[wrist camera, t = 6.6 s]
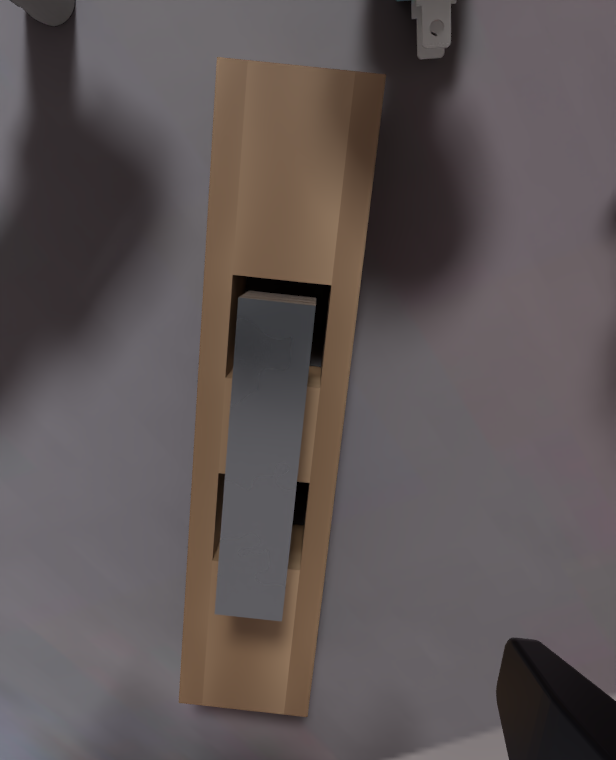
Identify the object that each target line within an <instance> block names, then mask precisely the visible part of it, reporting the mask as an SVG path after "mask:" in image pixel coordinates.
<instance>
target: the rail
mask: <svg viewBox="0 0 616 760" xmlns="http://www.w3.org/2000/svg"><path fill="white" fill-rule="evenodd" d="M385 80H386V74H377V73H367V72H357V71H347V70H338V69H328V68H318V67H309V66H299V65H289V64H280V63H270V62H260V61H251V60H241V59H231V58H222V57H217V67H216V83H215V100H214V117H213V134H212V151H211V168H210V185H209V202H208V218H207V235H206V252H205V269H204V286H203V303H202V320H201V336H200V353H199V370H198V387H197V404H196V421H195V438H194V454H193V471H192V488H191V505H190V522H189V539H188V556H187V573H186V589H185V606H184V623H183V640H182V657H181V674H180V691H179V703H186V704H195V705H204V706H212V707H221V708H230V709H239V710H248V711H257V712H266V713H275V714H284V715H293V716H302V717H307V716H308V708H309V699H310V691H311V683H312V675H313V667H314V659H315V650H316V642H317V634H318V626H319V618H320V610H321V602H322V593H323V585H324V577H325V569H326V561H327V553H328V544H329V536H330V528H331V520H332V512H333V504H334V496H335V487H336V479H337V471H338V463H339V455H340V447H341V438H342V430H343V422H344V414H345V406H346V398H347V389H348V381H349V373H350V365H351V357H352V349H353V341H354V332H355V324H356V316H357V308H358V300H359V292H360V283H361V275H362V267H363V259H364V251H365V243H366V235H367V226H368V218H369V210H370V202H371V194H372V186H373V177H374V169H375V161H376V153H377V145H378V137H379V128H380V120H381V112H382V104H383V96H384V88H385ZM247 276H249V277H258V278H268V279H277V280H287V281H296V282H305V283H315V284H324V285H330V291H329V300H328V309H327V318H326V327H325V336H324V345H323V354H322V363H321V367H316V366H309V374H308V383H307V392H306V402H305V411H304V420H303V430H302V439H301V448H300V458H299V467H298V476H297V482H305V483H308V490H307V499H306V508H305V517H304V525H296V524H292V532H291V542H290V551H289V560H288V570H287V579H286V588H285V598H284V607H283V616H282V621H273V620H264V619H254V618H245V617H236V616H226V615H217V614H215V601H216V588H217V574H218V561H219V548H220V534H221V521H222V508H223V495H224V481H225V468H226V455H227V442H228V428H229V415H230V402H231V388H232V375H233V362H234V349H235V335H236V322H237V309H238V297H240V296H241V295H243V294H245V290H246V277H247Z"/></svg>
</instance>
